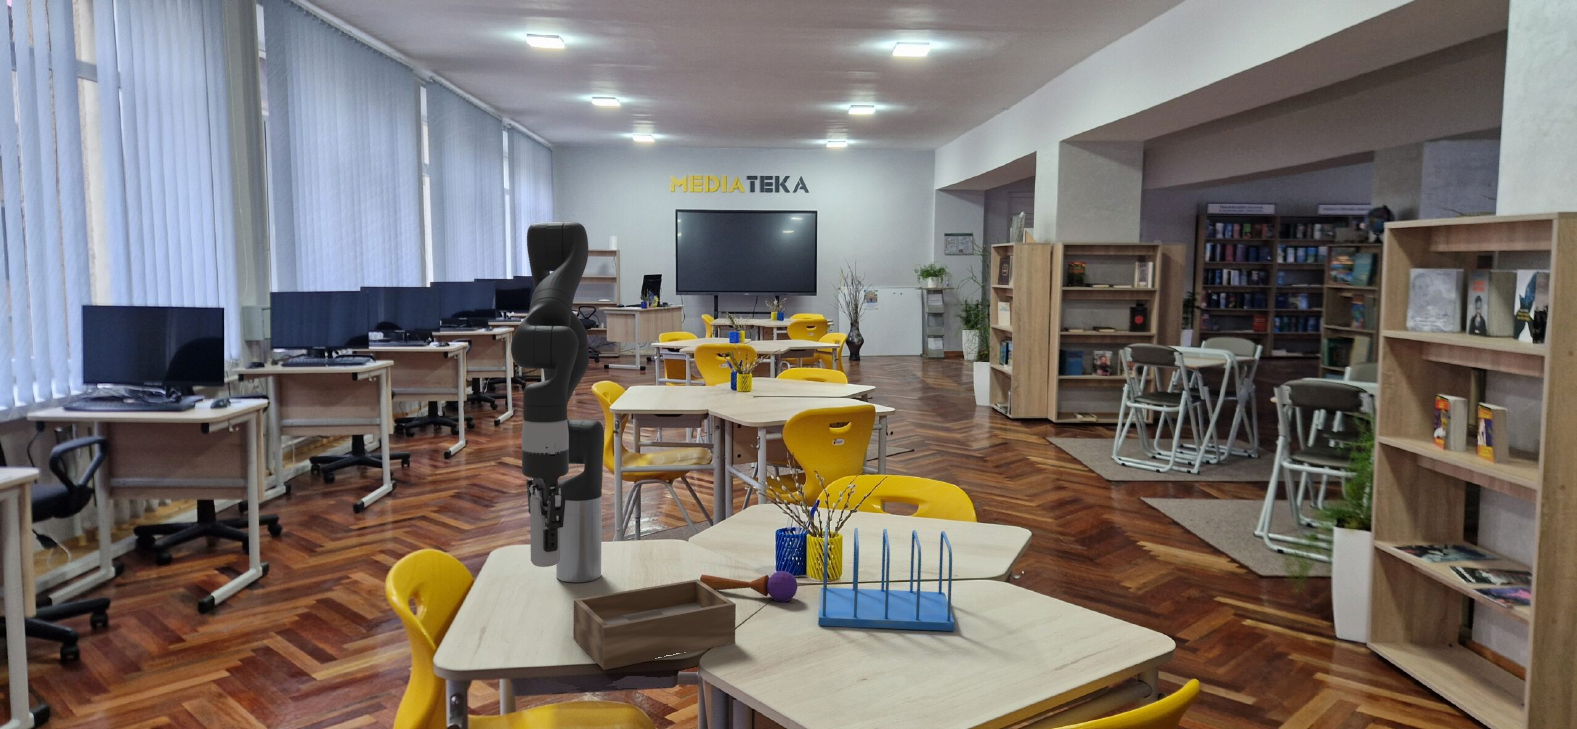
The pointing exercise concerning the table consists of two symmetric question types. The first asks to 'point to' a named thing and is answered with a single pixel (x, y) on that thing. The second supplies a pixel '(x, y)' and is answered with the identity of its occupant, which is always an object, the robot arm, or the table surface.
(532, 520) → the beverage can
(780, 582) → the purple maraca
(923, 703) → the table surface
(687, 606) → the box
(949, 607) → the file sorter
